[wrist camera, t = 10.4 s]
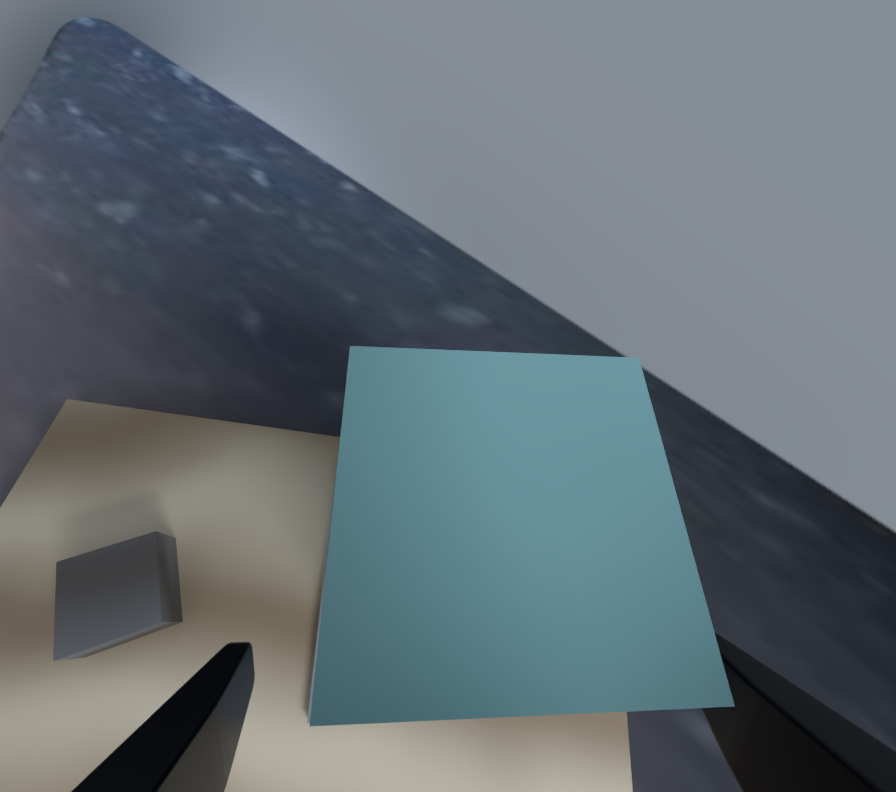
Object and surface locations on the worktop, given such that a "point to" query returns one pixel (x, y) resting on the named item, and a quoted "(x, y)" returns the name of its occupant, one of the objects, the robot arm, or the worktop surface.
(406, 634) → the tall teal block
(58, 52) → the worktop surface
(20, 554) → the board
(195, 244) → the worktop surface
